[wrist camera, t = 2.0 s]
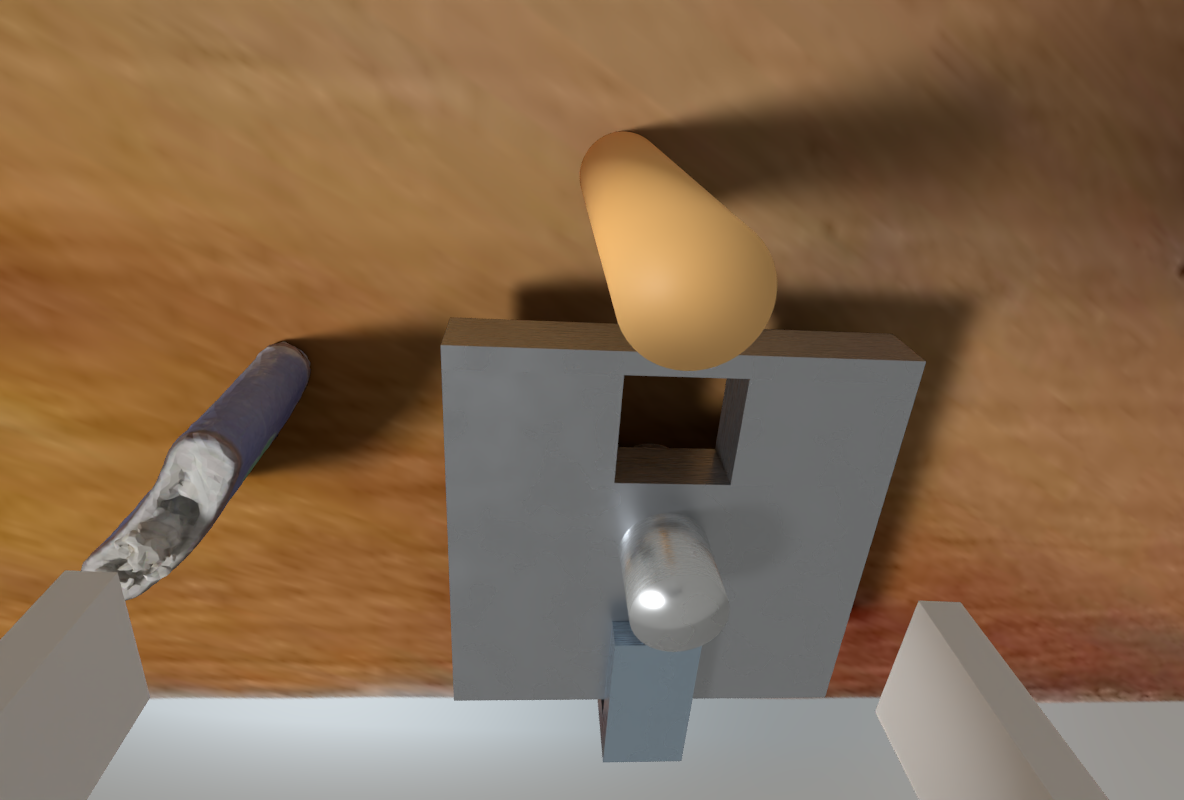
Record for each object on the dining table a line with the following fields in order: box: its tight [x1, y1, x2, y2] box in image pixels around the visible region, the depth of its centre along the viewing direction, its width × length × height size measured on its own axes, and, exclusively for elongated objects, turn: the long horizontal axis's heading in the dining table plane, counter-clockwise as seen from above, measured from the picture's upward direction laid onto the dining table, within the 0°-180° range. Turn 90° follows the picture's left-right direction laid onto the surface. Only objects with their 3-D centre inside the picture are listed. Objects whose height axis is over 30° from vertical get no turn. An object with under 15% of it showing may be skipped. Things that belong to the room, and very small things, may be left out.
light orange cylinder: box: [580, 131, 777, 371], centre depth 22 cm, size 4×4×16 cm
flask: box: [81, 342, 311, 601], centre depth 29 cm, size 9×3×11 cm, turn 138°
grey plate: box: [441, 318, 926, 762], centre depth 32 cm, size 22×19×10 cm
